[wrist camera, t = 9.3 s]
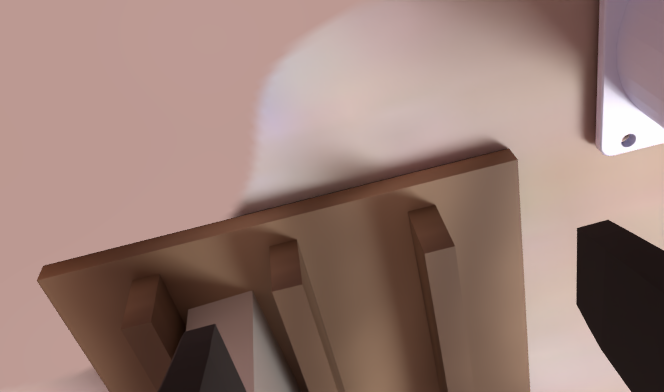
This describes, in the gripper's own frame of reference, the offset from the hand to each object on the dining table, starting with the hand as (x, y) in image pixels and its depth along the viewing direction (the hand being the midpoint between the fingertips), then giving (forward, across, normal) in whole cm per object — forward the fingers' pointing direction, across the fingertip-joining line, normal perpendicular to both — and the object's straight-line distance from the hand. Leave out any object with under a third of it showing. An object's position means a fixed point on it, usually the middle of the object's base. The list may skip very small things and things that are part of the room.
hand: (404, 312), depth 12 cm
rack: (+9, +3, +12) cm, 16 cm away
